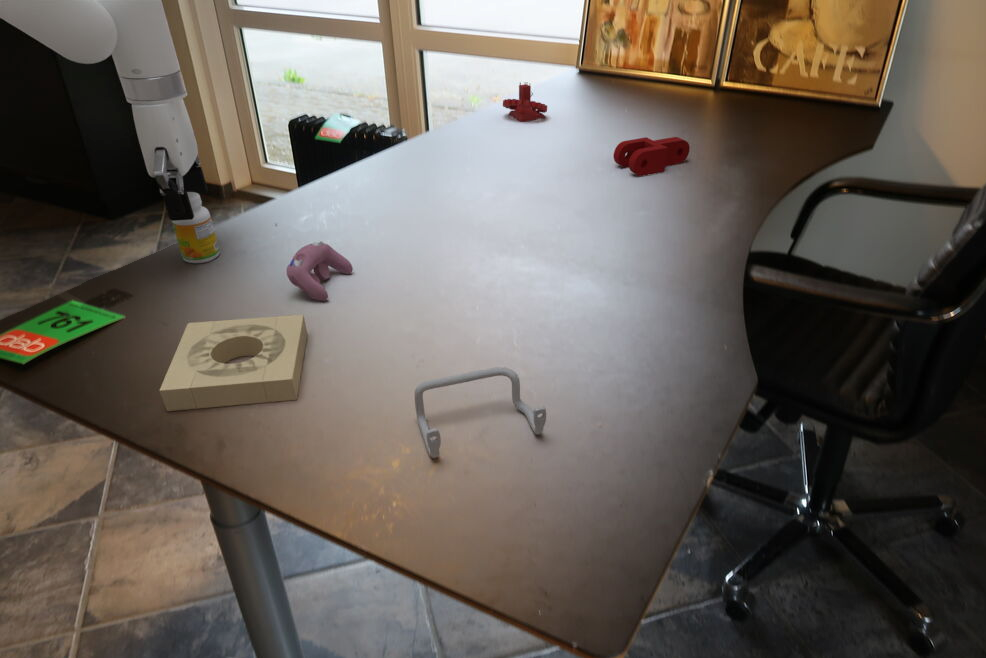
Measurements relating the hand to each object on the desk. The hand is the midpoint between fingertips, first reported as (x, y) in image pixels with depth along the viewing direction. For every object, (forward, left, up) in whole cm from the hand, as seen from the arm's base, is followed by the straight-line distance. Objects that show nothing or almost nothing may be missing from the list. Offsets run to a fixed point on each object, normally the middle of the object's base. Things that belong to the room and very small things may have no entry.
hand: (190, 205), depth 105 cm
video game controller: (+19, -12, -9) cm, 24 cm away
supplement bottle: (0, 0, -8) cm, 8 cm away
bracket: (+38, -48, -8) cm, 62 cm away
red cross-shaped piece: (+62, +67, -8) cm, 91 cm away
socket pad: (+11, -32, -8) cm, 35 cm away
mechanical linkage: (+83, +30, -8) cm, 88 cm away
